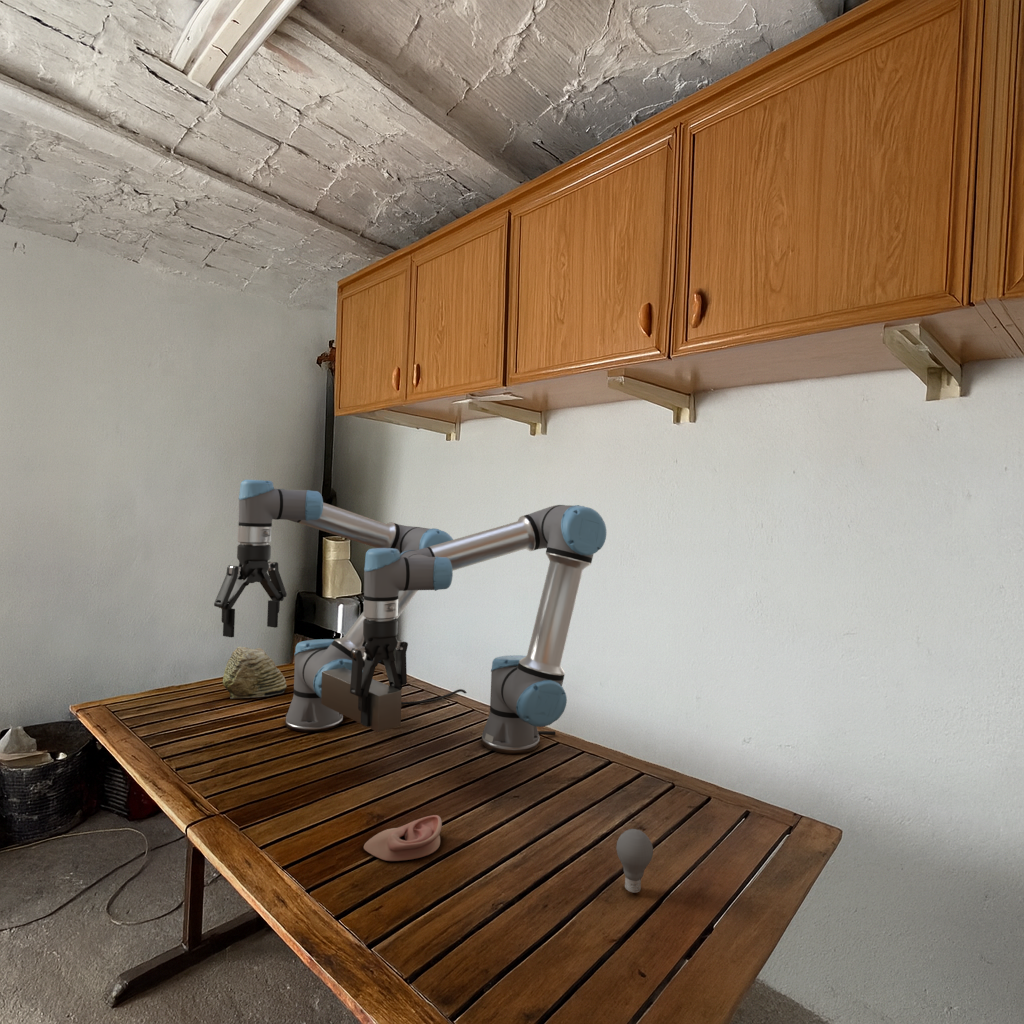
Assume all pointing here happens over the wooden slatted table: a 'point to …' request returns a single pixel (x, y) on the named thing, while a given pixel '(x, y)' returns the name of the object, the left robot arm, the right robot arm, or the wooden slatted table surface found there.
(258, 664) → the fossil
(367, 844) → the anatomical model
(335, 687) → the bar
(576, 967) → the wooden slatted table surface
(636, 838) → the light bulb
